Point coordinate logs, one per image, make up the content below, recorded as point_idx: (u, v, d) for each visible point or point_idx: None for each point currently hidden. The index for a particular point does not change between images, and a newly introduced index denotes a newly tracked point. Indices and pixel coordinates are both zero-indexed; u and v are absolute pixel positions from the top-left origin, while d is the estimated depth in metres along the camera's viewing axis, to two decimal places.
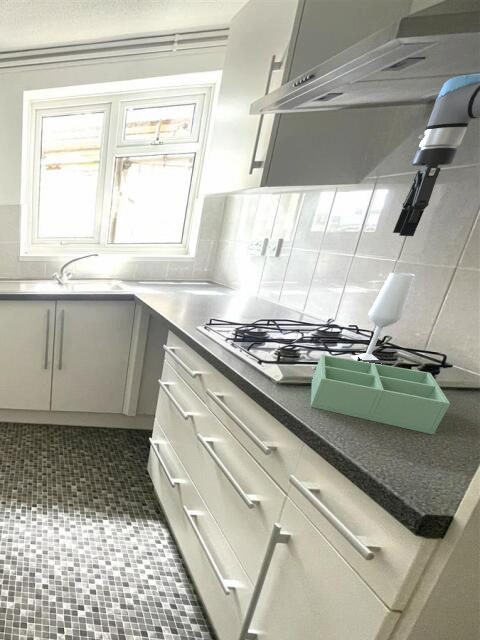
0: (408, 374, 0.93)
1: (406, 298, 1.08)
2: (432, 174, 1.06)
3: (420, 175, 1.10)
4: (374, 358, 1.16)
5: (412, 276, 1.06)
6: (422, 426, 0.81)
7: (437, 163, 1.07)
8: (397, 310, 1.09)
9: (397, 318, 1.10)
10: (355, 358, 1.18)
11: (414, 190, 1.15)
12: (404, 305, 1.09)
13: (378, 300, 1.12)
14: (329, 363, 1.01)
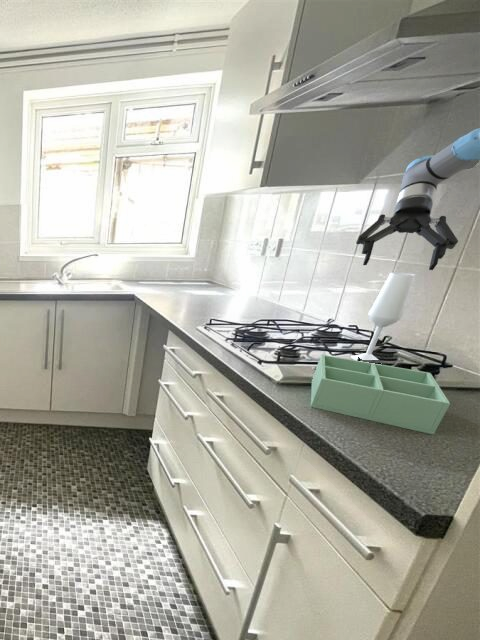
0: (408, 374, 0.93)
1: (406, 298, 1.08)
2: (377, 221, 1.23)
3: None
4: (374, 358, 1.16)
5: (412, 276, 1.06)
6: (422, 426, 0.81)
7: (394, 213, 1.21)
8: (397, 310, 1.09)
9: (397, 318, 1.10)
10: (355, 358, 1.18)
11: (422, 234, 1.17)
12: (404, 305, 1.09)
13: (378, 300, 1.12)
14: (329, 363, 1.01)
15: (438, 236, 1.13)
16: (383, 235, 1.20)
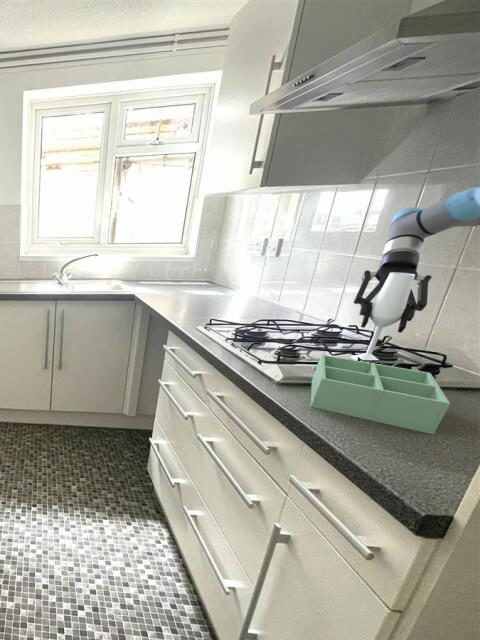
0: (408, 374, 0.93)
1: (406, 298, 1.08)
2: (363, 277, 1.18)
3: None
4: (374, 358, 1.16)
5: (412, 276, 1.06)
6: (422, 426, 0.81)
7: (380, 266, 1.17)
8: (397, 310, 1.09)
9: (397, 318, 1.10)
10: (355, 358, 1.18)
11: None
12: (404, 305, 1.09)
13: (378, 300, 1.12)
14: (329, 363, 1.01)
15: (411, 297, 1.10)
16: (377, 293, 1.15)
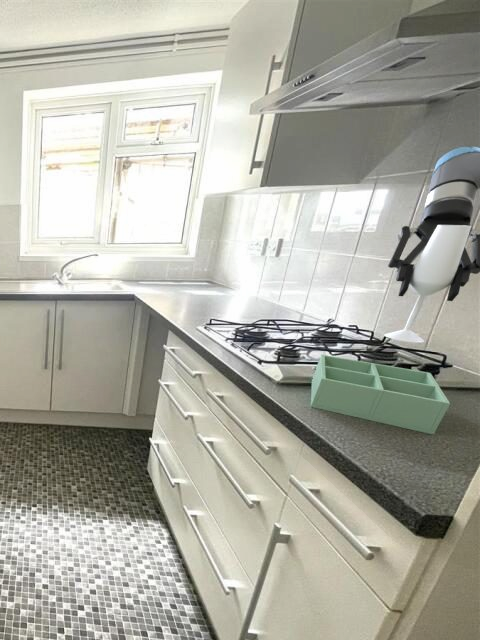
0: (408, 374, 0.93)
1: (459, 256, 0.85)
2: (401, 235, 0.95)
3: None
4: (415, 335, 0.93)
5: (468, 227, 0.83)
6: (422, 426, 0.81)
7: (422, 220, 0.94)
8: (447, 272, 0.86)
9: (447, 283, 0.86)
10: (390, 336, 0.95)
11: None
12: (456, 266, 0.85)
13: (422, 261, 0.88)
14: (329, 363, 1.01)
15: (465, 256, 0.87)
16: (419, 253, 0.92)
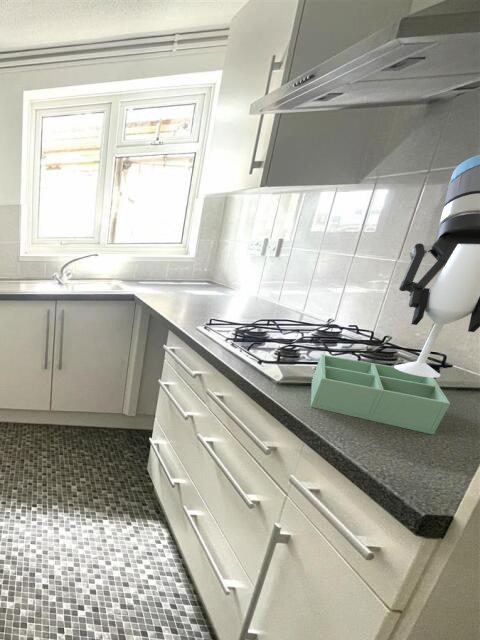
0: (408, 374, 0.93)
1: None
2: (413, 253, 0.83)
3: None
4: (429, 369, 0.81)
5: None
6: (422, 426, 0.81)
7: (438, 237, 0.82)
8: (469, 299, 0.74)
9: (468, 311, 0.75)
10: (401, 368, 0.83)
11: None
12: (479, 292, 0.74)
13: (439, 285, 0.76)
14: (329, 363, 1.01)
15: None
16: (435, 275, 0.80)
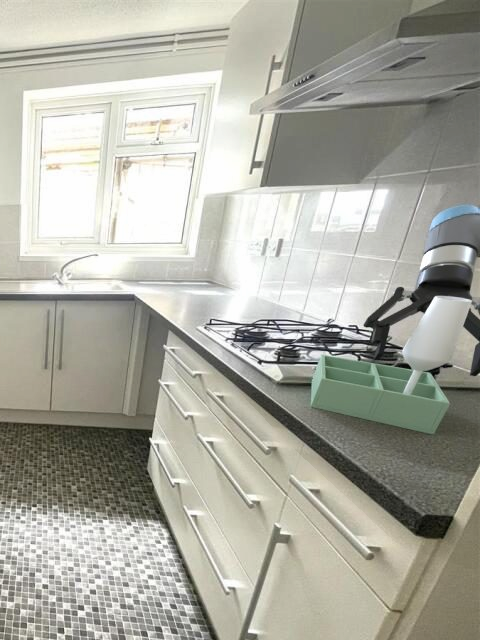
0: (408, 374, 0.93)
1: (458, 333, 0.77)
2: (392, 295, 0.87)
3: None
4: None
5: (468, 303, 0.75)
6: (422, 426, 0.81)
7: (417, 285, 0.85)
8: (445, 349, 0.78)
9: (444, 360, 0.78)
10: None
11: None
12: (455, 343, 0.77)
13: (417, 335, 0.80)
14: (329, 363, 1.01)
15: None
16: (402, 317, 0.85)
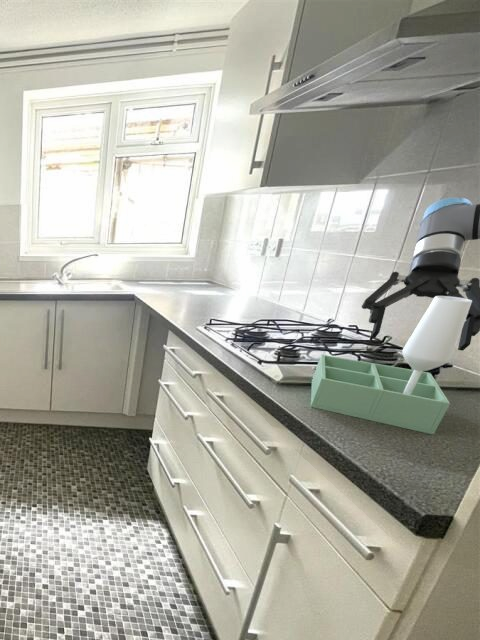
0: (408, 374, 0.93)
1: (458, 333, 0.77)
2: (388, 279, 0.96)
3: None
4: None
5: (468, 303, 0.75)
6: (422, 426, 0.81)
7: (411, 270, 0.94)
8: (445, 349, 0.78)
9: (445, 360, 0.78)
10: None
11: None
12: (455, 343, 0.77)
13: (417, 335, 0.80)
14: (329, 363, 1.01)
15: (470, 306, 0.86)
16: (396, 299, 0.94)
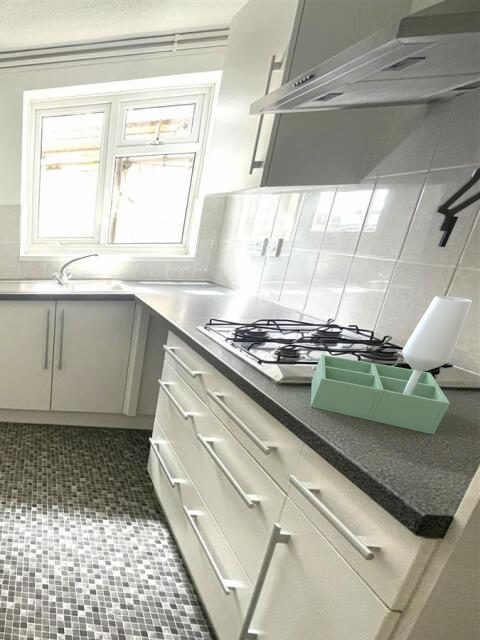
0: (408, 374, 0.93)
1: (458, 333, 0.77)
2: (472, 175, 0.91)
3: None
4: None
5: (468, 303, 0.75)
6: (422, 426, 0.81)
7: None
8: (445, 349, 0.78)
9: (445, 360, 0.78)
10: None
11: None
12: (455, 343, 0.77)
13: (417, 335, 0.80)
14: (329, 363, 1.01)
15: None
16: None
